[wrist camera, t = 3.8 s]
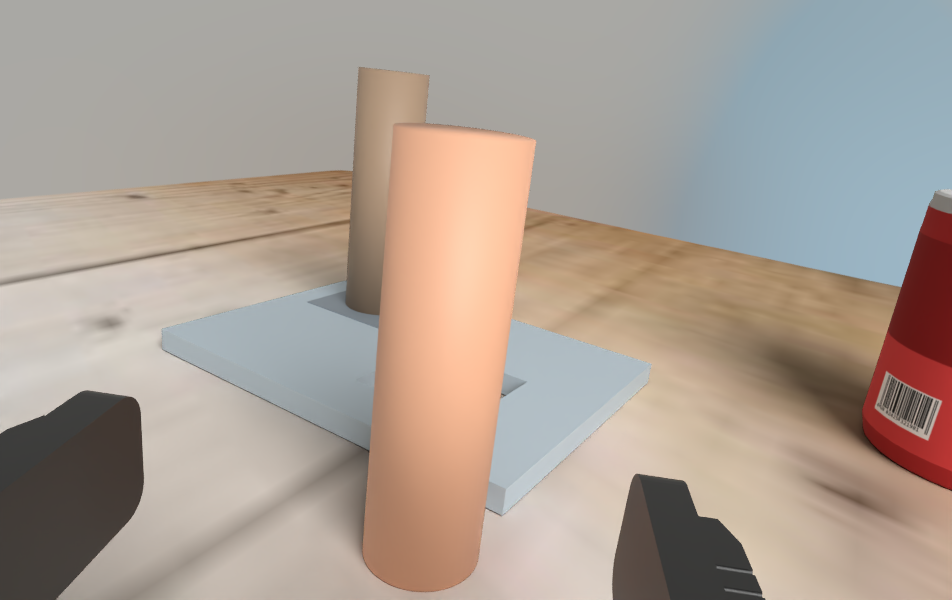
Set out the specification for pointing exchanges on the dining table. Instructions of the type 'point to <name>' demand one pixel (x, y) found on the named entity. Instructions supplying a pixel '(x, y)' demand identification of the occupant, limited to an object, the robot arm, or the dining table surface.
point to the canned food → (918, 359)
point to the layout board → (357, 321)
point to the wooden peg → (442, 347)
